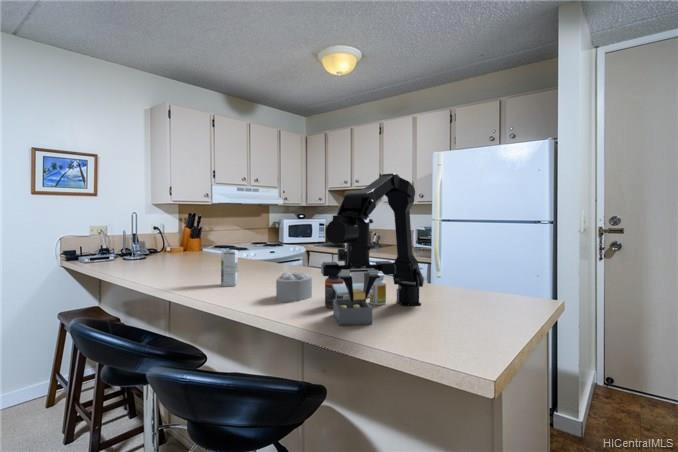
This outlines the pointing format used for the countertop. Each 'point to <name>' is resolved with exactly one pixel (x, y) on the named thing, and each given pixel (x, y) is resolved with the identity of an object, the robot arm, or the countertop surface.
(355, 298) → the lid
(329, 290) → the supplement bottle
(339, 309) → the tub
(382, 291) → the supplement bottle
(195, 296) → the countertop surface
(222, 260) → the syrup box
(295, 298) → the lumpy-topped squat cylinder
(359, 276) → the pill bottle
